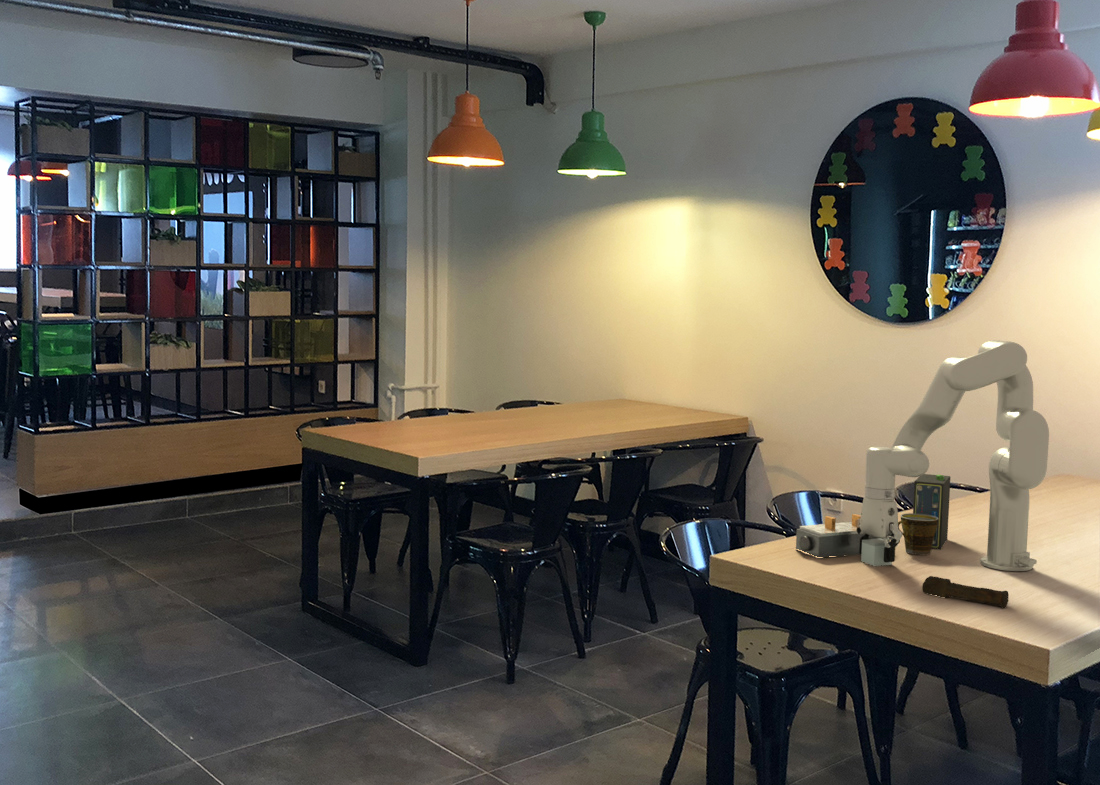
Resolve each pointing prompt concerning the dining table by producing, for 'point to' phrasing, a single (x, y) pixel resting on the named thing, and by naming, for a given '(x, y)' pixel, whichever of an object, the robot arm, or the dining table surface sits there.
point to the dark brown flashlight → (964, 591)
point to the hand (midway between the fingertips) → (876, 557)
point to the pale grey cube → (873, 552)
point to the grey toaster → (830, 538)
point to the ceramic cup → (918, 532)
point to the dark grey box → (933, 503)
